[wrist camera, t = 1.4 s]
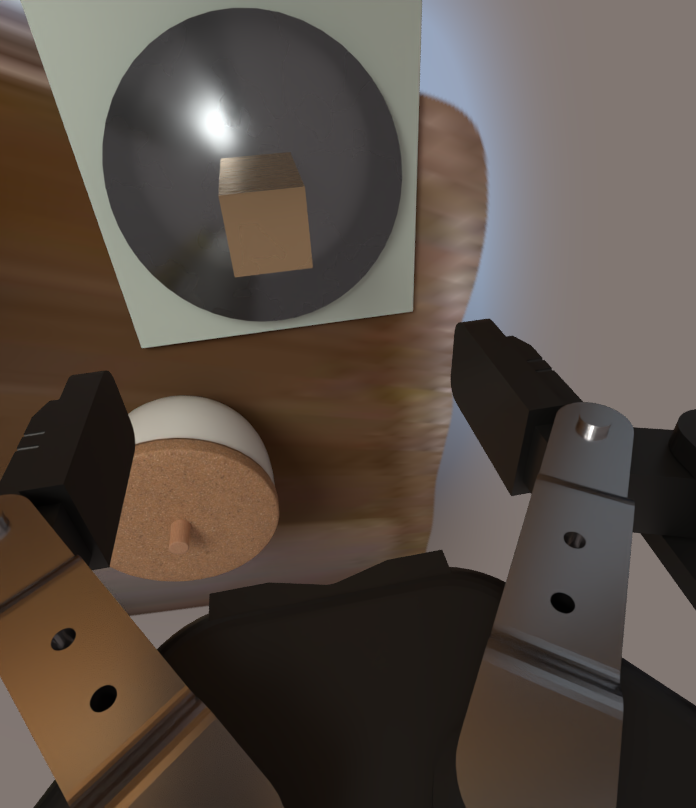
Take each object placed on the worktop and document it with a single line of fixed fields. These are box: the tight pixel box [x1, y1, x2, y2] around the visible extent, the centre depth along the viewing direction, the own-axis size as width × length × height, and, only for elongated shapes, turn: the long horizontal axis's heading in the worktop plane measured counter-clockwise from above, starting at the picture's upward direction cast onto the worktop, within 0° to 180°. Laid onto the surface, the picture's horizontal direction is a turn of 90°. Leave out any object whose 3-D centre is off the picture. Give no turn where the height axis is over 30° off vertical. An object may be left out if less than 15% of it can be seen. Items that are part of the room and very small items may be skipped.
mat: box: [21, 0, 422, 348], centre depth 25 cm, size 16×16×1 cm
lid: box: [102, 8, 402, 322], centre depth 23 cm, size 14×14×7 cm
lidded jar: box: [110, 395, 279, 581], centre depth 30 cm, size 11×11×9 cm
